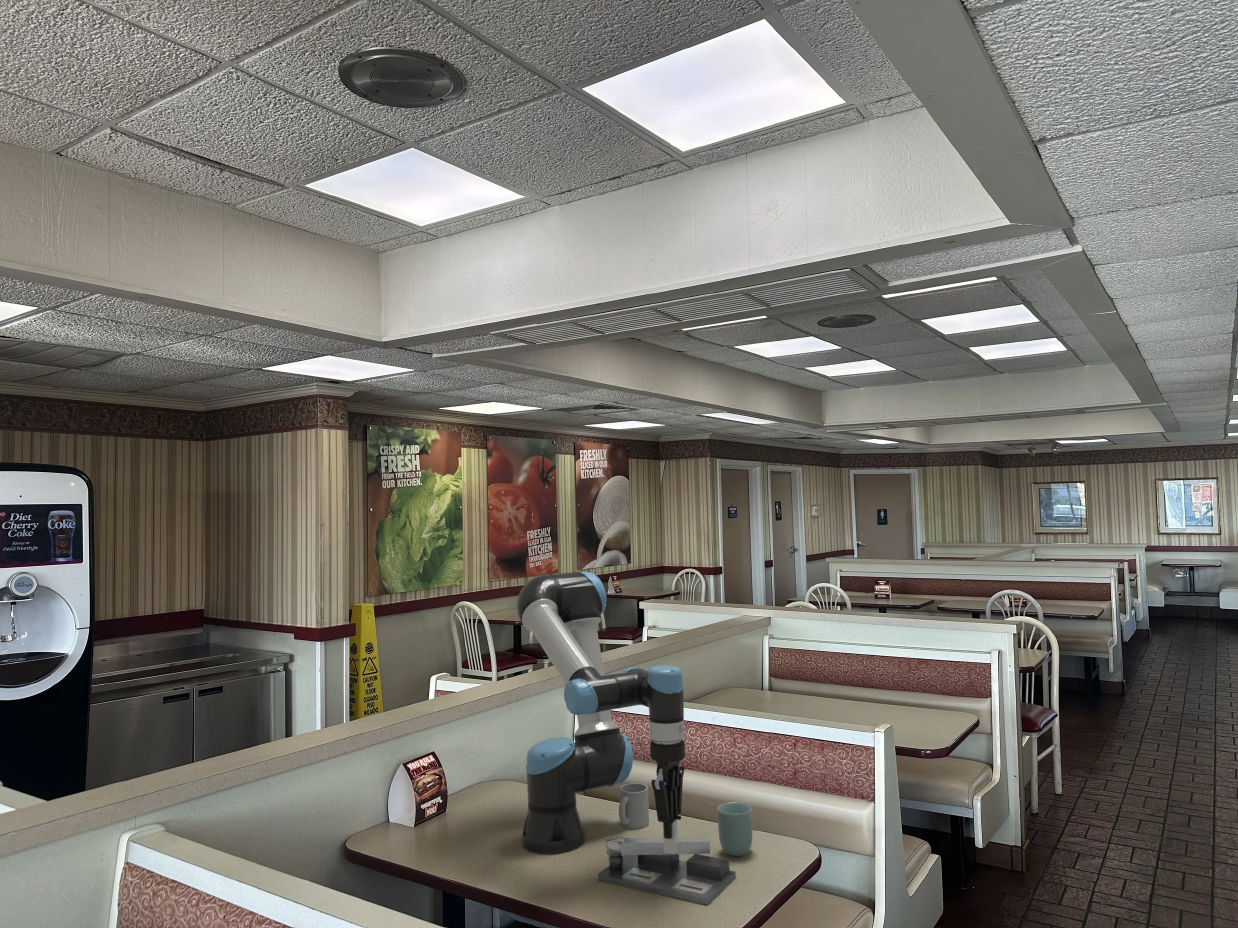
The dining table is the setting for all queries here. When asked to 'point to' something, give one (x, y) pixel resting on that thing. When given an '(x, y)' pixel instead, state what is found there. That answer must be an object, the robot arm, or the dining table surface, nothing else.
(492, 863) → the dining table surface
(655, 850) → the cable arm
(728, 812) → the cup
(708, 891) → the panel
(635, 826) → the cup
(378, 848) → the dining table surface
